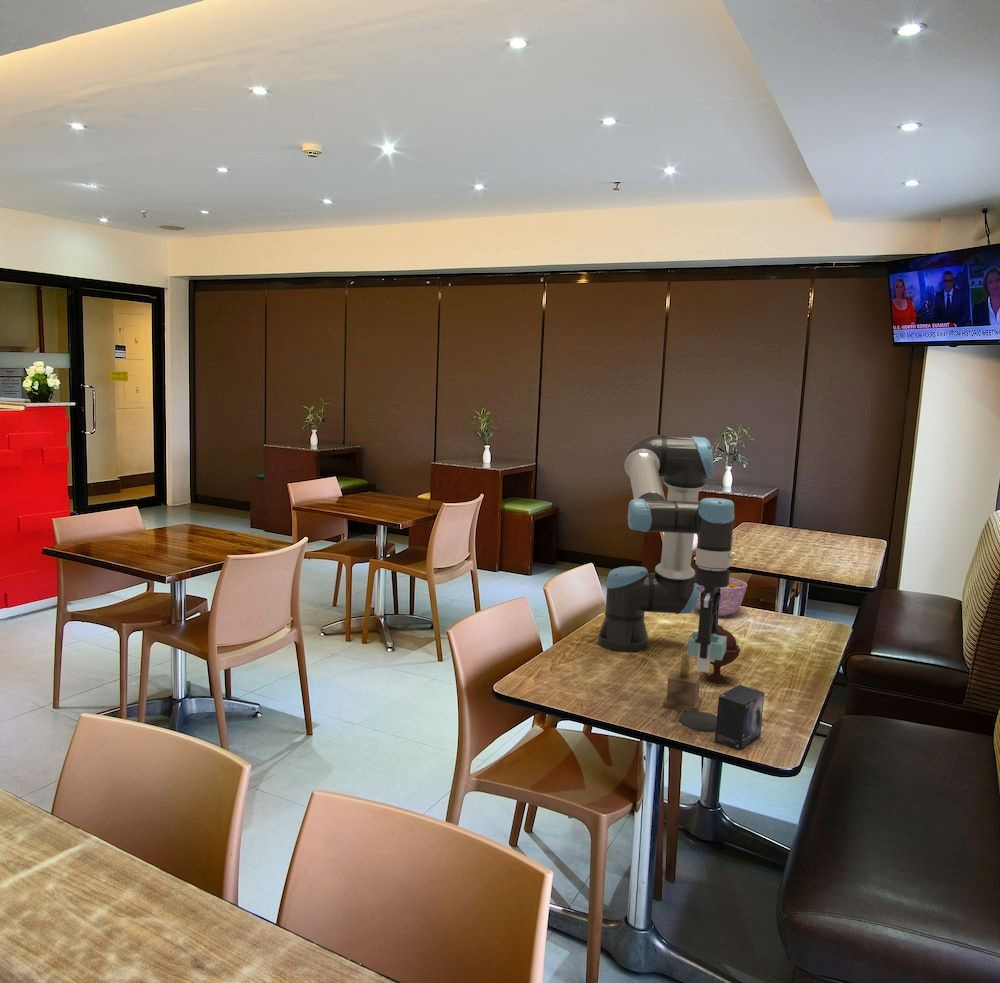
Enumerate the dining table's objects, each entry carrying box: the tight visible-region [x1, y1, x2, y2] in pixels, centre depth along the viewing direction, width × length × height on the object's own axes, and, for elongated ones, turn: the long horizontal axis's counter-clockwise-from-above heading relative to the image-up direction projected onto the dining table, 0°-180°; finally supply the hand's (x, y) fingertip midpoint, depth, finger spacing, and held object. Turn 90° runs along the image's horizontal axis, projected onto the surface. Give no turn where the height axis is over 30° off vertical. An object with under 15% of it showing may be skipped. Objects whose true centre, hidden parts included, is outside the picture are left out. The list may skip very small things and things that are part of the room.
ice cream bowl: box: [705, 624, 741, 685], centre depth 209 cm, size 11×11×15 cm
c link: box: [686, 631, 727, 660], centre depth 179 cm, size 8×8×4 cm
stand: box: [662, 652, 703, 712], centre depth 191 cm, size 8×8×12 cm
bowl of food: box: [695, 577, 748, 617], centre depth 277 cm, size 20×20×12 cm
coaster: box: [678, 711, 717, 732], centre depth 181 cm, size 10×10×1 cm
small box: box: [713, 684, 765, 750], centre depth 172 cm, size 11×6×10 cm, turn 138°
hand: (705, 665), depth 179 cm, fingers closed on c link, 7 cm apart
